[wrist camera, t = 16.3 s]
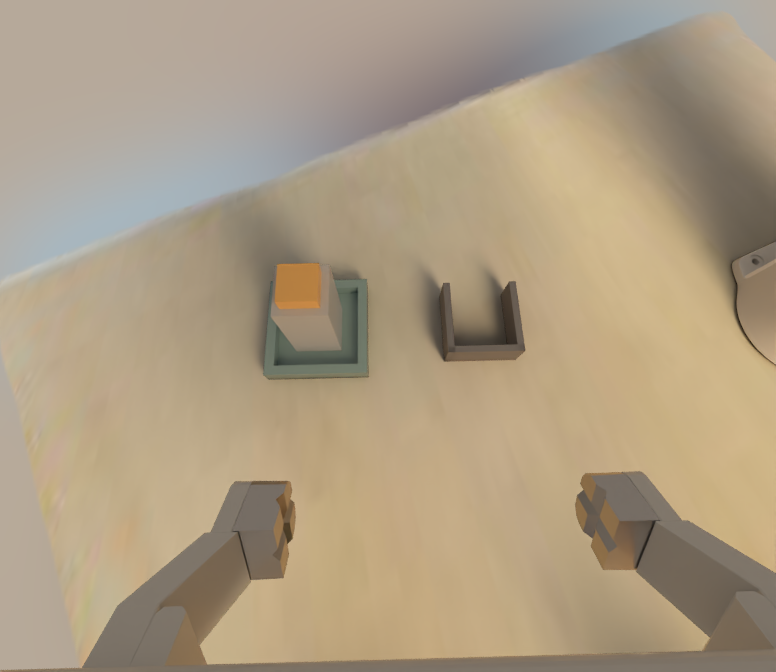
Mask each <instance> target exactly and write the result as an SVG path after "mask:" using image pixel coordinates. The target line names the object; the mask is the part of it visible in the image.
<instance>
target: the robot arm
mask: <svg viewBox="0 0 776 672" xmlns="http://www.w3.org/2000/svg"><path fill="white" fill-rule="evenodd" d="M732 270H733V273H734V276H735V279H736V282H737V284H738V293H737V312H738V316H739V320H740V322H741V325H742V327H743V329H744V331H745V333H746V335H747V336H748V338H749V339H750V341H751V342H752V343H753V345H754V346H755V347H756V348H757V349H758V350H759V351H760V352H761V353H762V354H763V355H764V356H765V357H766V358H767V359H769V360H770V361H771V362H773V363H774V364H776V242H773V243H771V244H769V245H767V246H765V247H762V248H760V249H758V250H756V251H754V252H751V253H749V254H747V255H745V256H743V257H741V258H738V259H736V260H735V261H734V262H733V263H732ZM580 484H581V486H582V488H583V489H584V490H583V491H582V492H581V493H579V494H578V495H577V498H576V503H575V507H576V516H577V519H578V522H579V524H580V526H581V528H582V530H583V532H585V533H586V534H587V535H589V536H590V537H591V538H592V543H591V548H592V550H593V551H594V553H595V555H596V557H597V559H598V561H599V563H600V565H601V567H602V569H603V570H636V572H637V573H638V574H639V575H640V576H641V577H643V578H644V579H645V580H646V581H647V582H648V583H649V584H650V585H652V586H653V587H654V588H655V589H656V590H657V591H658V592H659V593H661V594H662V595H663V596H664V597H665V598H666V599H667V600H668V601H669V602H671V603H672V604H673V605H674V606H675V607H676V608H677V609H678V610H680V611H681V612H682V613H683V614H684V615H685V616H686V617H687V618H689V619H690V620H691V621H692V622H693V623H694V624H695V625H696V626H698V627H699V628H700V629H701V630H702V631H703V632H704V633H705V634H707V635H708V636H709V637H710V638H709V640H708V642H707V643H706V645H705V647H704V649H703V650H702V651H684V652H648V653H611V654H575V655H538V656H502V657H467V658H432V659H396V660H359V661H323V662H286V663H249V664H212V665H207V663H206V661H205V658H204V656H203V653H202V651H201V648H200V644H201V643H202V642H203V640H204V639H205V638H206V637H207V635H208V634H209V633H210V632H211V630H212V629H213V628H214V627H215V626H216V624H217V623H218V622H219V621H220V619H221V618H222V617H223V616H224V614H225V613H226V612H227V611H228V610H229V608H230V607H231V606H232V605H233V603H234V602H235V601H236V600H237V598H238V597H239V596H240V595H241V594H242V592H243V591H244V590H245V589H246V587H247V586H248V585H249V584H250V582H251V581H250V580H259V579H277V578H284V574H285V570H286V565H287V561H288V557H289V551H288V545H287V544H288V543H289V542H290V541H291V540H292V539H293V534H294V529H295V519H296V515H295V504H294V502H293V501H292V500H291V499H290V498H291V494H292V487H291V482H289V481H235V482H234V483H233V484H232V485H231V487H230V489H229V492H228V494H227V496H226V498H225V501H224V503H223V505H222V507H221V510H220V512H219V514H218V516H217V519H216V521H215V523H214V526H213V528H212V530H211V532H210V533H204V534H203V535H202V536H200V537H199V538H198V539H197V540H196V541H194V542H193V543H192V544H191V545H190V546H188V547H187V548H186V549H185V550H184V551H183V552H181V553H180V554H179V555H178V556H177V557H175V558H174V559H173V560H172V561H171V562H169V563H168V564H167V565H166V566H165V567H163V568H162V569H161V570H160V571H159V572H157V573H156V574H155V575H154V576H153V577H151V578H150V579H149V580H148V581H147V582H145V583H144V584H143V585H142V586H141V587H140V588H138V589H137V590H136V591H135V592H134V593H132V594H131V595H130V596H129V597H128V598H126V599H125V600H124V601H123V602H122V603H120V604H119V605H118V606H117V608H116V609H115V611H114V613H113V615H112V616H111V618H110V620H109V622H108V623H107V625H106V627H105V629H104V630H103V632H102V634H101V636H100V637H99V639H98V641H97V643H96V644H95V646H94V648H93V650H92V651H91V653H90V655H89V657H88V658H87V660H86V662H85V664H84V665H83V667H82V668H61V669H25V670H0V672H776V573H774V572H773V571H771V570H769V569H768V568H766V567H764V566H763V565H761V564H759V563H758V562H756V561H754V560H753V559H751V558H749V557H748V556H746V555H744V554H743V553H741V552H739V551H738V550H736V549H734V548H733V547H731V546H730V545H728V544H726V543H725V542H723V541H721V540H720V539H718V538H716V537H715V536H713V535H711V534H710V533H708V532H706V531H705V530H703V529H701V528H700V527H698V526H696V525H695V524H693V523H691V522H690V521H682V520H681V518H680V517H679V516H678V515H677V513H676V512H675V511H674V510H673V508H672V507H671V506H670V505H669V503H668V502H667V501H666V500H665V498H664V497H663V496H662V495H661V494H660V492H659V491H658V490H657V489H656V487H655V486H654V485H653V484H652V482H651V481H650V480H649V479H648V477H647V476H646V475H645V474H644V473H642V472H621V473H620V472H610V473H585V474H584V475H583V476H582V479H581V483H580Z"/></svg>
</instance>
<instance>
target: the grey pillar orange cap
mask: <svg viewBox="0 0 776 672" xmlns="http://www.w3.org/2000/svg"><path fill="white" fill-rule="evenodd" d="M271 318H272V319H273V321H274V322H275V323H276V324H277V326H278V327H279V328H280V330H281V331H282V332H283V334H284V335H285V336H286V338H287V339H288V340H289V342H290V343H291V344H292V346H293V347H294V348H295V350H296V351H297V352H301V351H342V306H341V303H340V299H339V296H338V292H337V289H336V285H335V282H334V278H333V275H332V271H331V268H330V264H326V265H319V263H305V264H277V266H275V267H274V280H273V292H272V305H271Z"/></svg>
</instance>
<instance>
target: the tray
mask: <svg viewBox="0 0 776 672" xmlns="http://www.w3.org/2000/svg"><path fill="white" fill-rule="evenodd" d="M334 282H335V285H336V289H337V292H338V296H339V299H340V303H341V306H342V351H301V352H297V351H296V350H295V348H294V347H293V346H292V344H291V343H290V342H289V340H288V339H287V338H286V336H285V335H284V334H283V332H282V331H281V330H280V328H279V327H278V326H277V324H276V323H275V322H274V321H273V319H272V318H271V305H272V292H273V281H271V286H270V298H269V311H268V323H267V336H266V348H265V361H264V373H263V375H264V376H265V377H266V378H268V379H310V378H352V377H368V286H367V279H356V280H334Z"/></svg>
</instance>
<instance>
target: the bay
mask: <svg viewBox="0 0 776 672" xmlns="http://www.w3.org/2000/svg"><path fill="white" fill-rule="evenodd" d="M501 300H502V308H503V316H504V324H505V332H506V340H507V345H470V346H455V344H454V332H453V319H452V307H451V295H450V283H443V286H442V289H441V293H440V311H441V325H442V339H443V353H444V361H483V360H516V359H517V358H518V357H519V356H520V355H521V354H522V353H523V352H524V351H525V345H524V338H523V331H522V324H521V317H520V310H519V303H518V296H517V289H516V281H512V282H509V283H508V284H507V286H506V287H505V289H504V291H503V292H502V294H501Z"/></svg>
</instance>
